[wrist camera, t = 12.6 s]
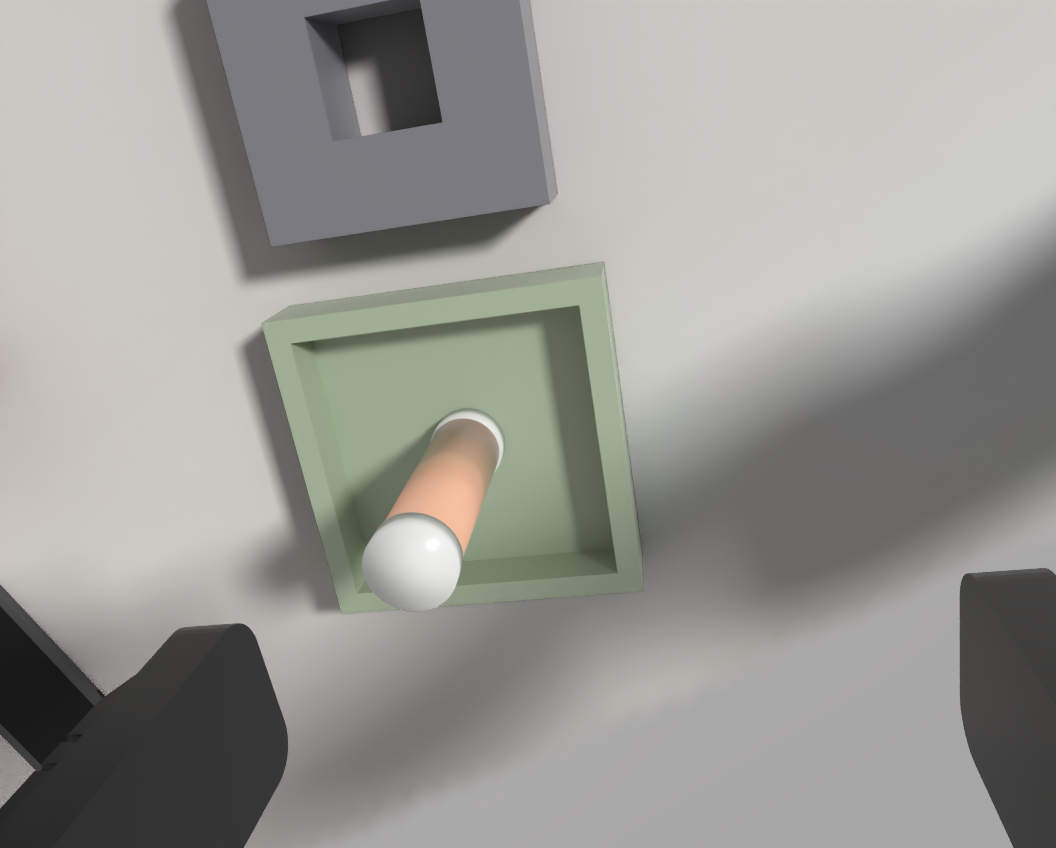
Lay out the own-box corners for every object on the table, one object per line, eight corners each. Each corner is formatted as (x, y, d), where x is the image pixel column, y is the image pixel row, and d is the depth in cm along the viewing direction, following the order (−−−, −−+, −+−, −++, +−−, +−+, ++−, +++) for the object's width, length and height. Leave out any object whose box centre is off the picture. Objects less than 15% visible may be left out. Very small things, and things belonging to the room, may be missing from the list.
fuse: (498, 404, 37) (447, 522, 27) (510, 470, 38) (466, 607, 28) (428, 412, 38) (352, 531, 27) (442, 477, 39) (373, 615, 29)
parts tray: (604, 261, 35) (601, 276, 32) (642, 556, 40) (643, 591, 37) (289, 306, 37) (261, 323, 35) (361, 579, 42) (341, 613, 39)
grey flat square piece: (512, -117, 31) (498, -142, 27) (558, 193, 34) (549, 203, 31) (232, -56, 32) (187, -72, 29) (303, 233, 36) (271, 246, 33)
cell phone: (-16, 559, 45) (-26, 566, 44) (157, 744, 48) (150, 753, 48) (-100, 617, 47) (-110, 624, 46) (71, 790, 50) (63, 799, 50)
